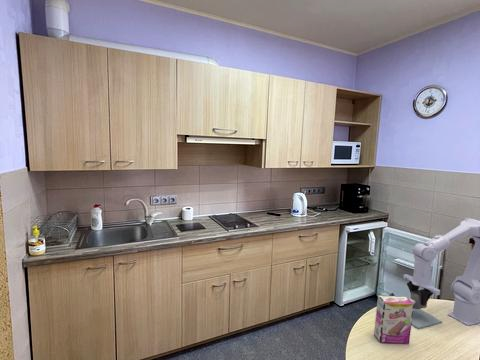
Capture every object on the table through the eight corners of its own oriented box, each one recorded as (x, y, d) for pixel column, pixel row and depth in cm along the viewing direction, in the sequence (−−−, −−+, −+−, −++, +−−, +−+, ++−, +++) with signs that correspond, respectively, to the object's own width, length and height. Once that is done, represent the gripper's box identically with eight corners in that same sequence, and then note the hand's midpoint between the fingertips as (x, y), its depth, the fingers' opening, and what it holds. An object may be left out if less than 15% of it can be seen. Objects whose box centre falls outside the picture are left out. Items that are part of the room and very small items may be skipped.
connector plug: (420, 302, 112) (421, 289, 111) (428, 306, 109) (430, 293, 108) (404, 305, 109) (405, 292, 108) (412, 310, 106) (413, 297, 105)
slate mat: (416, 308, 117) (416, 306, 117) (441, 323, 107) (441, 321, 107) (393, 313, 113) (393, 311, 113) (417, 329, 102) (418, 327, 102)
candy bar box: (380, 344, 94) (384, 302, 92) (373, 334, 99) (376, 294, 97) (410, 345, 94) (414, 303, 92) (401, 335, 99) (405, 295, 97)
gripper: (399, 266, 113) (396, 294, 115) (432, 281, 100) (429, 313, 101) (410, 264, 116) (408, 292, 117) (445, 279, 102) (441, 310, 103)
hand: (418, 302), depth 109 cm, fingers closed on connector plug, 4 cm apart
